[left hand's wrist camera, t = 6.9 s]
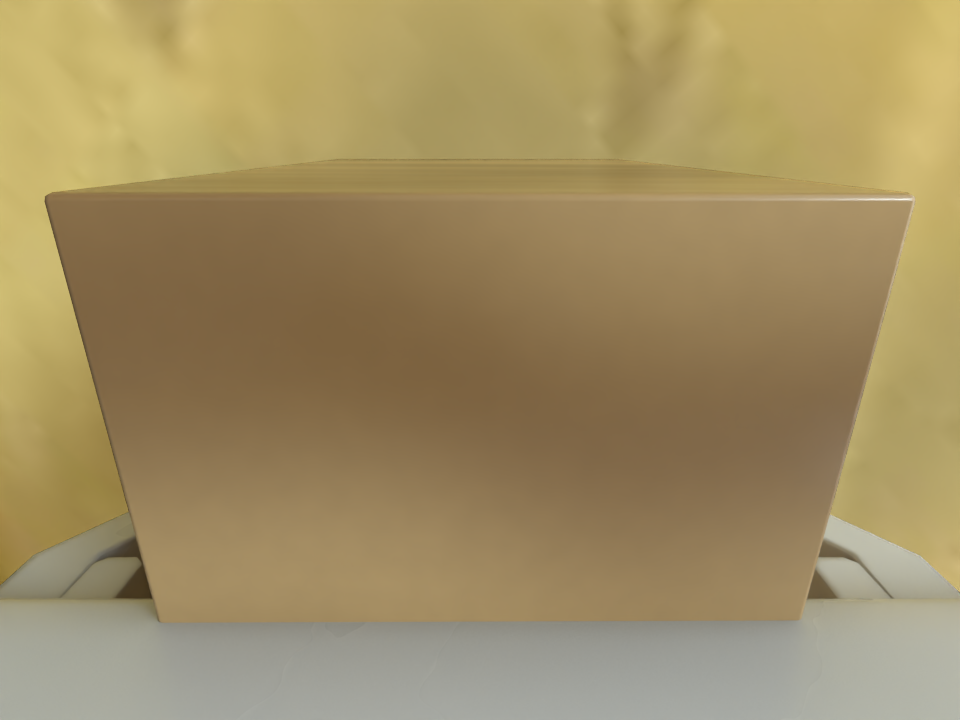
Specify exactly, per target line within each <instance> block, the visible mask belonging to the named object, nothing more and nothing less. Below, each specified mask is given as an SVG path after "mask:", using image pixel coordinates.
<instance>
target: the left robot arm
mask: <svg viewBox="0 0 960 720" xmlns="http://www.w3.org/2000/svg"><path fill="white" fill-rule="evenodd" d="M0 720H960V592H959V591H957V590H956V589H955V588H954V587H953V586H952V585H951V584H950V583H949V582H948V581H947V580H946V579H945V578H943V577H942V576H941V575H940V574H939V573H938V572H937V571H936V570H935V569H934V568H933V567H932V566H931V565H929V564H928V563H927V562H926V561H925V560H924V559H923V558H922V557H921V556H919V555H917V554H915V553H913V552H911V551H908V550H906V549H904V548H902V547H900V546H898V545H895V544H893V543H891V542H889V541H887V540H885V539H882V538H880V537H878V536H876V535H874V534H871V533H869V532H867V531H865V530H863V529H861V528H858V527H856V526H854V525H852V524H850V523H847V522H845V521H843V520H841V519H839V518H837V517H834V516H832V515H830V516H829V520H828V523H827V527H826V531H825V534H824V538H823V542H822V545H821V549H820V552H819V556H818V560H817V563H816V567H815V571H814V574H813V578H812V582H811V585H810V589H809V593H808V596H807V600H806V604H805V607H804V611H803V615H802V618H801V620H784V621H509V622H233V623H161V622H159V621H158V617H157V613H156V610H155V606H154V602H153V599H152V595H151V591H150V588H149V584H148V580H147V577H146V573H145V569H144V566H143V562H142V558H141V555H140V551H139V547H138V543H137V540H136V536H135V532H134V529H133V525H132V521H131V518H130V514H129V512H128V513H125V514H123V515H121V516H119V517H117V518H114V519H112V520H110V521H108V522H106V523H103V524H101V525H99V526H97V527H94V528H92V529H90V530H88V531H86V532H83V533H81V534H79V535H77V536H75V537H72V538H70V539H68V540H66V541H64V542H61V543H59V544H57V545H55V546H53V547H50V548H48V549H46V550H44V551H41V552H39V553H37V554H35V555H33V556H32V557H31V558H30V559H29V560H28V561H27V562H25V563H24V564H23V565H22V566H21V567H20V568H19V569H18V570H17V571H16V572H14V573H13V574H12V575H11V576H10V577H9V578H8V579H7V580H6V581H5V582H3V583H2V584H1V585H0Z"/></svg>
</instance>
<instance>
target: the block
mask: <svg viewBox="0 0 960 720" xmlns="http://www.w3.org/2000/svg"><path fill="white" fill-rule="evenodd" d="M45 205H46V208H47V212H48V216H49V219H50V223H51V227H52V230H53V234H54V238H55V241H56V245H57V249H58V252H59V256H60V260H61V264H62V267H63V271H64V275H65V278H66V282H67V286H68V289H69V293H70V297H71V300H72V304H73V308H74V311H75V315H76V319H77V322H78V326H79V330H80V334H81V337H82V341H83V345H84V348H85V352H86V356H87V359H88V363H89V367H90V370H91V374H92V378H93V381H94V385H95V389H96V392H97V396H98V400H99V404H100V407H101V411H102V415H103V418H104V422H105V426H106V429H107V433H108V437H109V440H110V444H111V448H112V451H113V455H114V459H115V462H116V466H117V470H118V473H119V477H120V481H121V485H122V488H123V492H124V496H125V499H126V503H127V507H128V510H129V514H130V518H131V521H132V525H133V529H134V532H135V536H136V540H137V543H138V547H139V551H140V555H141V558H142V562H143V566H144V569H145V573H146V577H147V580H148V584H149V588H150V591H151V595H152V599H153V602H154V606H155V610H156V613H157V617H158V621H159V622H161V623H233V622H509V621H784V620H801V618H802V615H803V611H804V607H805V604H806V600H807V596H808V593H809V589H810V585H811V582H812V578H813V574H814V571H815V567H816V563H817V560H818V556H819V552H820V549H821V545H822V542H823V538H824V534H825V531H826V527H827V523H828V520H829V516H830V512H831V509H832V505H833V501H834V498H835V494H836V490H837V487H838V483H839V479H840V476H841V472H842V468H843V465H844V461H845V457H846V454H847V450H848V446H849V443H850V439H851V435H852V432H853V428H854V424H855V421H856V417H857V413H858V410H859V406H860V402H861V399H862V395H863V391H864V388H865V384H866V380H867V377H868V373H869V369H870V366H871V362H872V358H873V355H874V351H875V348H876V344H877V340H878V337H879V333H880V329H881V326H882V322H883V318H884V315H885V311H886V307H887V304H888V300H889V296H890V293H891V289H892V285H893V282H894V278H895V274H896V271H897V267H898V263H899V260H900V256H901V252H902V249H903V245H904V241H905V238H906V234H907V230H908V227H909V223H910V219H911V216H912V212H913V208H914V205H915V197H914V196H913V195H911V194H909V193H906V192H897V191H888V190H880V189H871V188H862V187H853V186H845V185H836V184H827V183H819V182H810V181H801V180H793V179H784V178H775V177H767V176H758V175H749V174H741V173H732V172H723V171H714V170H706V169H697V168H688V167H680V166H671V165H662V164H654V163H645V162H636V161H628V160H619V159H336V160H327V161H318V162H310V163H301V164H292V165H284V166H275V167H267V168H258V169H249V170H241V171H232V172H224V173H215V174H206V175H198V176H189V177H180V178H172V179H163V180H155V181H146V182H137V183H129V184H120V185H111V186H103V187H94V188H86V189H77V190H68V191H60V192H52V193H50V194H48V195H46V196H45Z"/></svg>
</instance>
